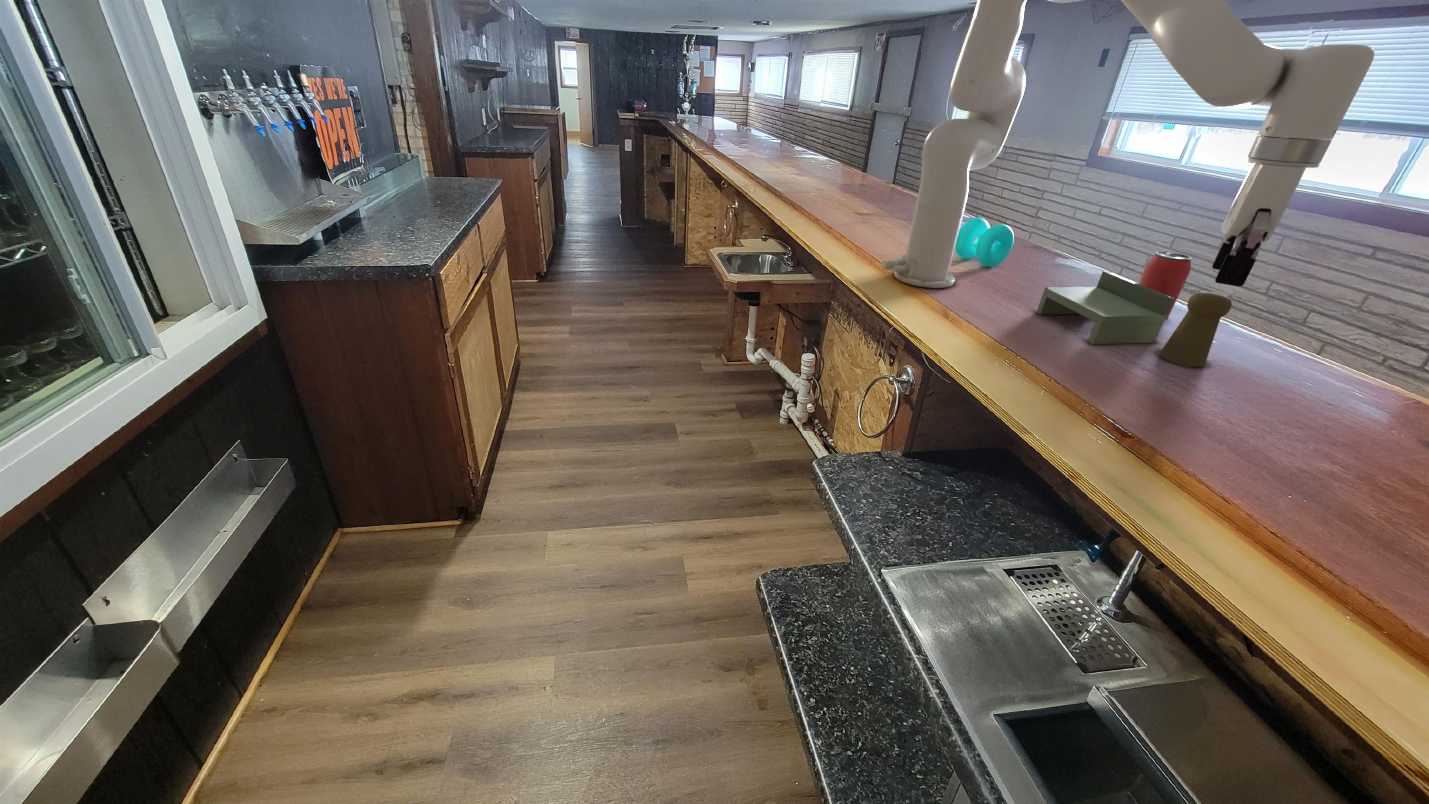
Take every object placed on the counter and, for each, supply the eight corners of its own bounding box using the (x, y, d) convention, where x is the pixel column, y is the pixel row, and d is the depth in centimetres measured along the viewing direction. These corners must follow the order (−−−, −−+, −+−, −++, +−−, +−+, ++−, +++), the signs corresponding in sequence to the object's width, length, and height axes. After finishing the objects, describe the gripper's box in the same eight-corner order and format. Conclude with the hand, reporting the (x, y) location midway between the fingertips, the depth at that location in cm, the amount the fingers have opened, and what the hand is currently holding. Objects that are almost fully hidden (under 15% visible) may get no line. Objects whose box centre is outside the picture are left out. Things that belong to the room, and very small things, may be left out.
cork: (1192, 369, 88) (1227, 302, 82) (1151, 354, 92) (1182, 290, 87) (1212, 363, 90) (1247, 297, 85) (1171, 348, 95) (1202, 285, 90)
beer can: (1153, 312, 111) (1181, 251, 105) (1174, 324, 105) (1204, 261, 99) (1119, 309, 111) (1144, 249, 105) (1137, 322, 106) (1165, 258, 100)
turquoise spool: (977, 255, 144) (988, 215, 139) (1009, 266, 136) (1022, 224, 131) (947, 258, 140) (957, 217, 135) (978, 270, 132) (990, 226, 127)
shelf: (1092, 344, 95) (1111, 299, 91) (1036, 312, 108) (1050, 271, 104) (1154, 342, 97) (1175, 298, 93) (1091, 311, 110) (1107, 271, 106)
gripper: (1245, 147, 84) (1193, 261, 92) (1256, 154, 72) (1196, 285, 80) (1312, 151, 80) (1252, 269, 89) (1336, 160, 68) (1264, 296, 76)
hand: (1226, 276), depth 84 cm, fingers open, 9 cm apart
